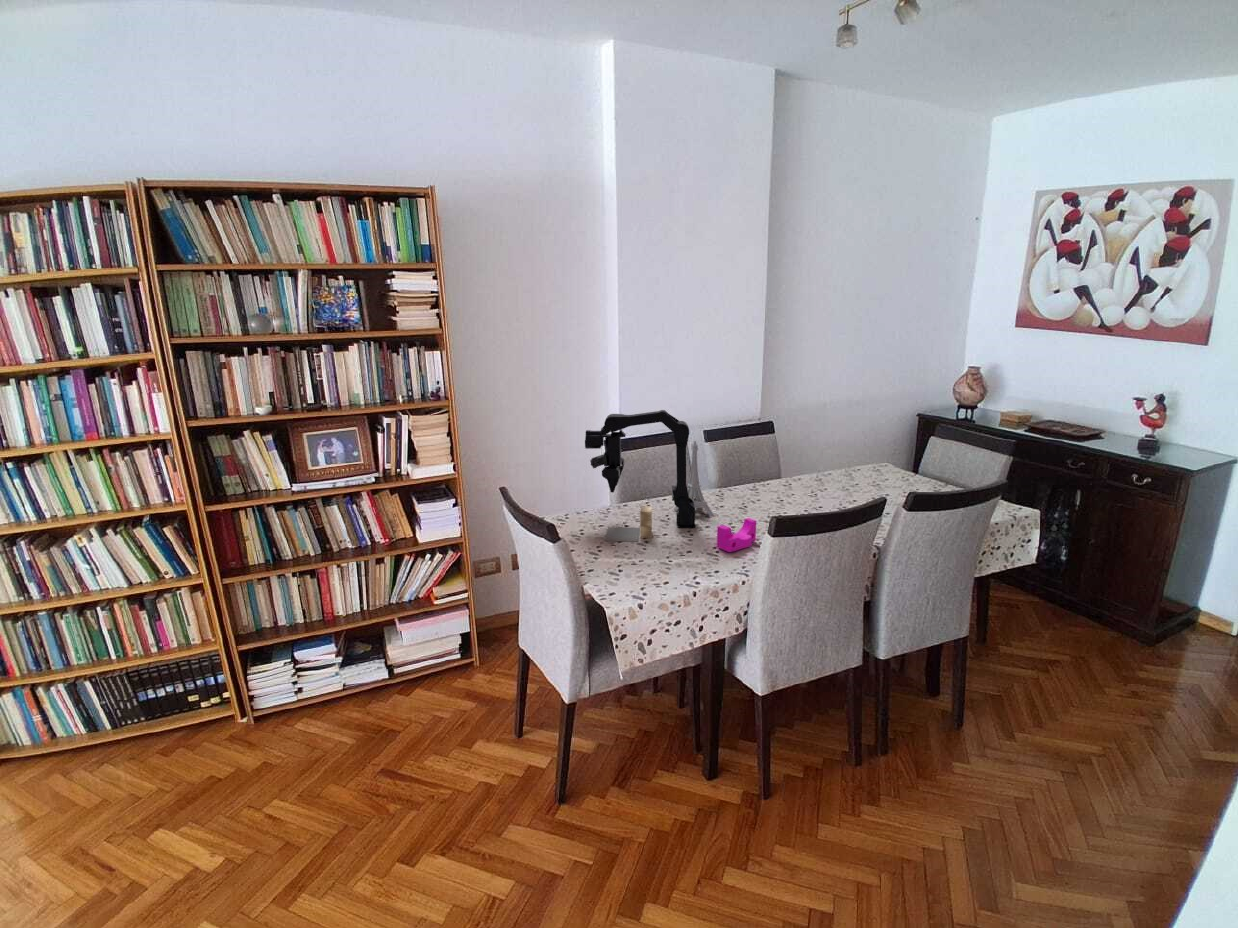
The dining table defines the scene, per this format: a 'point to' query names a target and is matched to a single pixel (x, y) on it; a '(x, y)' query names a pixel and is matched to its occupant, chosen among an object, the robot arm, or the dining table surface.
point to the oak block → (646, 522)
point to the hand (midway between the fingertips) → (613, 488)
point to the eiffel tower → (696, 485)
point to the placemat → (622, 534)
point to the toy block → (736, 536)
